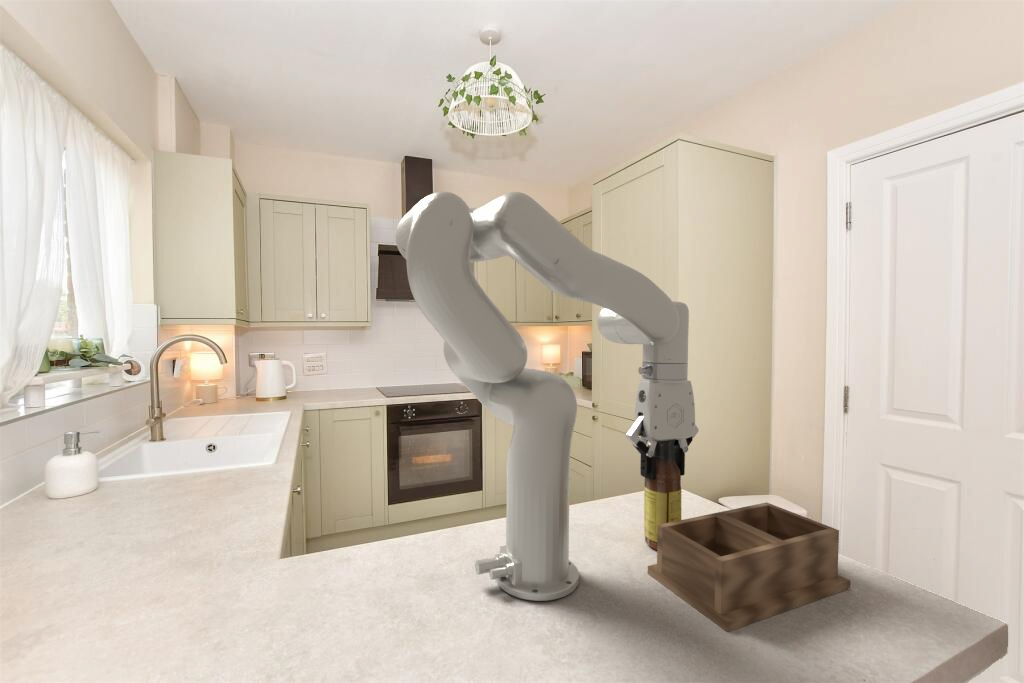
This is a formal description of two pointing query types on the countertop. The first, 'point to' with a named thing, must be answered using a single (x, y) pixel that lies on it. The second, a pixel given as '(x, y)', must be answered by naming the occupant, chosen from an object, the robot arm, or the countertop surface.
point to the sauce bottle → (662, 493)
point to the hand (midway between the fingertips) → (662, 474)
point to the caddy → (748, 563)
